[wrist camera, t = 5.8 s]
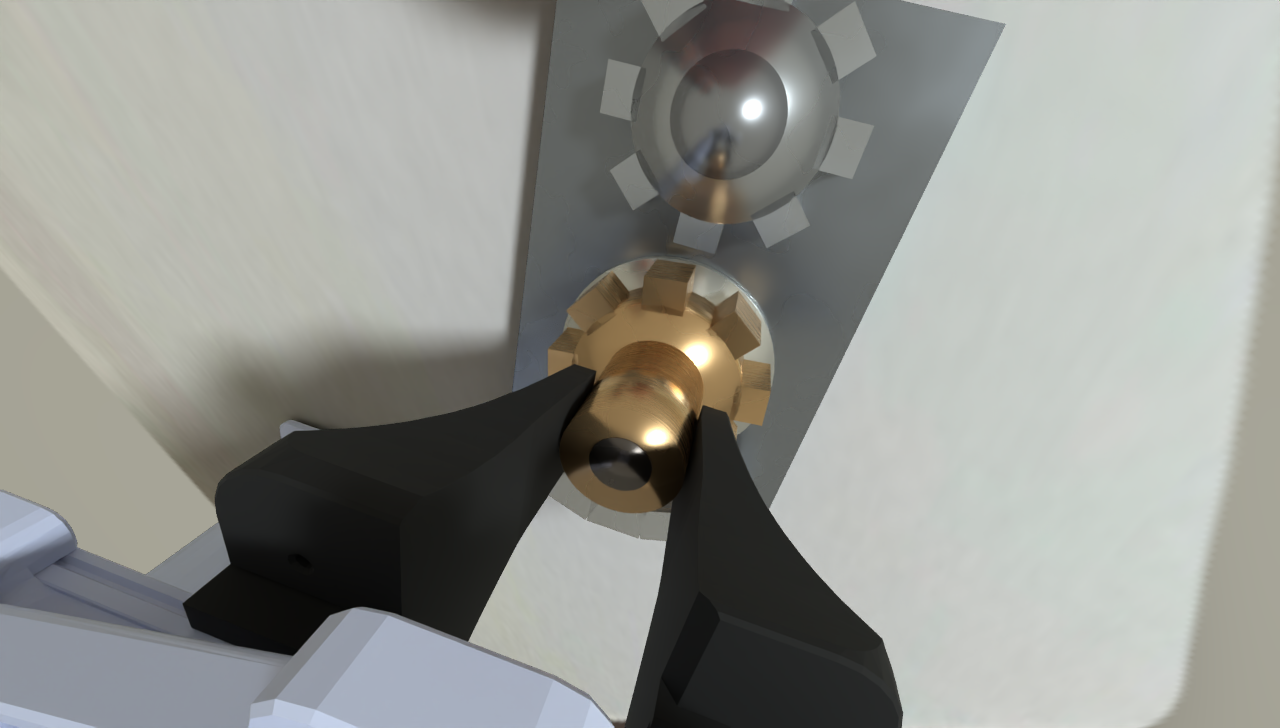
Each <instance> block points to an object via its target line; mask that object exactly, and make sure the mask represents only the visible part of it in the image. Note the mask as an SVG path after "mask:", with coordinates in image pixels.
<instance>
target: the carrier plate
mask: <svg viewBox="0 0 1280 728" xmlns="http://www.w3.org/2000/svg"><path fill="white" fill-rule="evenodd" d="M704 1H705V0H704ZM854 1H855V2H856V5H857V7H858V10H859V12H860V15H861V18H862V20H863V23H864V25H865V28H866V30H867V33H868V35H869V38H870V41H871V43H872V46H873V48H874V51H875V53H876V57H874V58H873V59H871V60H870V61H868V62H866V63H865V64H863V65H862V66H860V67H859V68H857V69H855V70H854V71H852V72H851V73H849V74H848V75H846V76H844V77H843V78H841V79H840V80H839V87H840V108H839V117H842V118H846V119H850V120H854V121H858V122H862V123H866V124H870V125H874V128H873V130H872V133H871V135H870V137H869V140H868V142H867V145H866V147H865V149H864V152H863V154H862V157H861V159H860V161H859V164H858V166H857V169H856V171H855V174H854V176H853V178H852V179H850V178H846V177H842V176H838V175H835V174H831V173H827V172H823V171H819V170H818V172H817V173H816V174H815V176H814V177H813V178H812V180H811V181H810V182H809V184H808V185H807V186H806V187H805V188H804V189H803V190H802V191H801V192H800V193H799V194H798V195H797V196H796V197H797V199H798V201H799V203H800V205H801V207H802V209H803V211H804V213H805V216H806V218H807V220H808V222H809V224H810V226H808V227H806V228H804V229H803V230H801V231H799V232H797V233H795V234H793V235H791V236H789V237H787V238H785V239H783V240H782V241H780V242H778V243H776V244H774V245H772V246H770V247H768V248H766V246H765V244H764V242H763V240H762V238H761V236H760V234H759V232H758V230H757V228H756V226H755V224H754V222H753V220H752V221H748V222H742V223H736V224H724V228H723V231H722V234H721V237H720V241H719V244H718V246H717V249H716V251H715V254H712V253H709V252H705V251H702V250H698V249H695V248H691V247H688V246H684V245H681V244H677V243H674V242H673V240H674V236H675V232H676V228H677V224H678V221H679V217H680V213H681V212H680V211H678V210H677V209H675V208H674V207H672V206H671V205H670V204H668V203H667V202H666V201H665V200H664V199H663V198H662V197H661V196H660V195H659V194H658V195H657V196H655V197H654V198H652V199H650V200H649V201H647V202H646V203H644V204H643V205H641V206H639V207H638V208H636V209H635V210H632V208H631V206H630V204H629V203H628V201H627V199H626V198H625V196H624V194H623V192H622V191H621V189H620V187H619V185H618V184H617V182H616V180H615V178H614V177H613V175H612V173H611V172H610V170H611V169H613V168H614V167H615V166H617V165H618V164H620V163H621V162H623V161H624V160H626V159H627V158H628V157H630V156H631V155H633V154H634V153H635V149H634V144H633V140H632V132H631V121H629V120H626V119H622V118H618V117H614V116H610V115H607V114H603V113H600V108H601V102H602V96H603V90H604V84H605V78H606V71H607V65H608V59H611V60H615V61H619V62H623V63H627V64H631V65H635V66H639V67H641V66H642V64H643V62H644V60H645V58H646V56H647V54H648V52H649V50H650V49H651V47H652V46H653V44H654V43H655V41H656V40H657V38H658V37H659V35H658V33H657V31H656V29H655V27H654V25H653V23H652V21H651V19H650V17H649V15H648V13H647V11H646V9H645V7H644V5H643V3H642V1H641V0H557V2H556V11H555V20H554V29H553V37H552V46H551V55H550V64H549V73H548V81H547V90H546V99H545V108H544V116H543V125H542V134H541V143H540V152H539V160H538V169H537V178H536V187H535V196H534V204H533V213H532V222H531V231H530V239H529V248H528V257H527V266H526V275H525V283H524V292H523V301H522V310H521V319H520V327H519V336H518V345H517V354H516V363H515V371H514V380H513V389H512V392H515V391H517V390H520V389H522V388H525V387H527V386H529V385H531V384H533V383H535V382H538V381H540V380H542V379H544V378H546V377H548V348H549V347H550V346H551V345H552V344H553V343H554V342H555V341H556V340H557V339H558V337H559V336H560V335H561V334H562V333H563V332H564V331H565V330H566V329H567V328H568V327H571V328H576V329H581V328H580V327H579V326H578V324H577V323H576V322H575V321H574V320H573V319H572V317H571V316H570V315H569V314H568V313H567V311H566V310H567V309H568V308H569V307H570V306H571V305H572V304H573V303H574V302H575V301H576V300H577V299H578V298H579V297H580V296H581V295H582V294H584V293H585V292H586V291H587V290H588V289H589V288H591V287H592V286H593V285H594V284H596V283H597V282H598V281H599V280H601V279H602V278H603V277H604V276H606V275H607V274H608V273H609V272H611V271H613V272H614V273H615V274H616V276H617V277H618V278H619V279H620V281H621V282H622V283H623V284H624V286H625V287H626V288H627V289H628V291H631V290H634V289H637V288H640V287H643V281H644V275H645V274H646V273H647V271H648V270H649V269H650V267H651V266H652V265H653V264H654V262H655V261H656V260H657V259H659V260H666V261H672V262H679V263H685V264H692V265H696V270H695V276H694V283H693V290H692V292H694V293H696V294H698V295H700V296H702V297H704V298H706V299H707V300H709V301H710V302H712V303H713V304H714V305H715V306H716V305H718V304H719V303H721V302H722V301H724V300H725V299H727V298H728V297H730V296H731V295H733V294H734V293H736V292H737V291H739V292H740V293H741V294H742V296H743V297H744V298H745V300H746V301H747V303H748V304H749V305H750V307H751V308H752V309H753V311H754V312H755V313H756V315H757V316H758V317H759V319H760V320H761V345H760V346H759V347H757V348H755V349H754V350H752V351H750V352H748V353H747V354H745V355H744V359H745V360H751V361H756V362H762V363H767V364H771V393H770V397H769V401H768V405H767V408H766V412H765V416H764V420H763V424H762V426H760V425H755V424H750V423H745V422H740V421H735V420H734V423H735V424H736V425H737V426H738V427H737V437H736V441H737V444H738V447H739V449H740V452H741V455H742V457H743V459H744V462H745V464H746V466H747V469H748V471H749V473H750V475H751V478H752V480H753V482H754V484H755V486H756V488H757V490H758V492H759V494H760V495H761V497H762V499H763V501H764V503H765V505H766V506H767V508H768V509H769V508H770V506H771V504H772V502H773V500H774V498H775V496H776V493H777V491H778V489H779V487H780V485H781V483H782V481H783V479H784V477H785V475H786V473H787V471H788V469H789V467H790V465H791V463H792V461H793V459H794V457H795V455H796V453H797V451H798V448H799V446H800V444H801V442H802V440H803V438H804V436H805V434H806V432H807V430H808V428H809V426H810V424H811V422H812V420H813V418H814V416H815V414H816V412H817V410H818V408H819V405H820V403H821V401H822V399H823V397H824V395H825V393H826V391H827V389H828V387H829V385H830V383H831V381H832V379H833V377H834V375H835V373H836V371H837V369H838V367H839V365H840V363H841V360H842V358H843V356H844V354H845V352H846V350H847V348H848V346H849V344H850V342H851V340H852V338H853V336H854V334H855V332H856V330H857V328H858V326H859V324H860V322H861V320H862V317H863V315H864V313H865V311H866V309H867V307H868V305H869V303H870V301H871V299H872V297H873V295H874V293H875V291H876V289H877V287H878V285H879V283H880V281H881V279H882V277H883V275H884V272H885V270H886V268H887V266H888V264H889V262H890V260H891V258H892V256H893V254H894V252H895V250H896V248H897V246H898V244H899V242H900V240H901V238H902V236H903V234H904V232H905V229H906V227H907V225H908V223H909V221H910V219H911V217H912V215H913V213H914V211H915V209H916V207H917V205H918V203H919V201H920V199H921V197H922V195H923V193H924V191H925V189H926V187H927V184H928V182H929V180H930V178H931V176H932V174H933V172H934V170H935V168H936V166H937V164H938V162H939V160H940V158H941V156H942V154H943V152H944V150H945V148H946V146H947V144H948V142H949V139H950V137H951V135H952V133H953V131H954V129H955V127H956V125H957V123H958V121H959V119H960V117H961V115H962V113H963V111H964V109H965V107H966V105H967V103H968V101H969V99H970V96H971V94H972V92H973V90H974V88H975V86H976V84H977V82H978V80H979V78H980V76H981V74H982V72H983V70H984V68H985V66H986V64H987V62H988V60H989V58H990V56H991V54H992V51H993V49H994V47H995V45H996V43H997V41H998V39H999V37H1000V35H1001V33H1002V31H1003V29H1004V27H1005V25H1006V24H1003V23H999V22H994V21H990V20H985V19H981V18H976V17H972V16H968V15H963V14H959V13H954V12H950V11H945V10H941V9H937V8H932V7H928V6H923V5H919V4H914V3H910V2H905V1H901V0H793V2H792V5H793V6H794V7H795V8H797V9H798V10H800V11H801V12H802V13H804V14H805V15H806V16H807V17H808V18H809V19H810V20H811V21H812V22H813V23H814V24H815V26H816V27H818V26H819V25H821V24H822V23H824V22H825V21H827V20H828V19H829V18H831V17H832V16H834V15H835V14H837V13H838V12H840V11H841V10H842V9H844V8H845V7H847V6H848V5H850V4H851V3H853V2H854ZM581 330H582V329H581Z"/></svg>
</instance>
